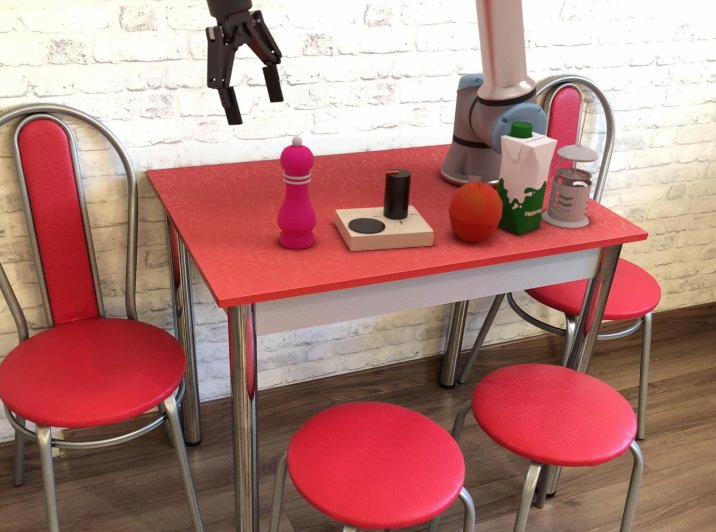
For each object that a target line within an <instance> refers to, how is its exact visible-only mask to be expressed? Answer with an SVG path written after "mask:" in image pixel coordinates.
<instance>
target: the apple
mask: <svg viewBox="0 0 716 532" xmlns="http://www.w3.org/2000/svg"><path fill="white" fill-rule="evenodd" d="M502 205H503V203H502V200H501V198H500V196H499V195H498V193H497V189H495V188H492V187H491V186H490V185H488V184H486V183H482V182H480V181H479V182H470V183H467V184H466V185H464V186H459V188H458V189H457V190H456V192H455V193H454V194H453V195H452V196H451V199H450V202H449V206H448V215H449V216H448V217H449V220H450V221H449V222H450V227H451V230H452V232H453V233H455V234H456V236H458V237H459V239H461V241H464V242H467V243H477V242H481V241H482V240H485V239H487V238H488V237H491V236H493V235H494V234H495V233H496V231H497V229H498V228H499V227H498V224H499V222H500V219H501V217H502Z"/></svg>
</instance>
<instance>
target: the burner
mask: <svg viewBox="0 0 716 532" xmlns="http://www.w3.org/2000/svg"><path fill="white" fill-rule="evenodd" d="M348 227H349V229H351V230H352V231H354V232H357V233H362V234H376V233H380V232H382V231H384V230H385V224H384V223H383V222H382V221H380V220H377V219H372V218H357V219H354V220H351V221H350V222H349V223H348Z"/></svg>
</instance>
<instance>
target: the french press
mask: <svg viewBox="0 0 716 532" xmlns="http://www.w3.org/2000/svg"><path fill="white" fill-rule="evenodd" d="M582 103H585V104H586V107H585V110H584V111H585V112H584V116H583V122H582V127H581V132H580V138H579V142H578V144H569V145H565V146H563V147H560V148H558V149H557V151H556V153H557V155H555V156H553V157H552V160H551V163H550V168H549V173H548V177H549V182H550V185H551V189H550V194H549V199H548V204H547V209H546V210H545V211H543V212H542V215H541V219H542V220H543V221H544V222H546V223H548V224H550V225H553V226H557V227H560V228H568V229H577V228H578V229H579V228H583V227H586V226H587V225H588V224H589V223H590V221H589V218H588V217H587V215H586V214H587V209H588V206H589V201H590V195H591V191H592V186H593V182H592V180H591V179H592V178H593V174H592V173H591V172H589V171H588V170H585V169H582V168H578V167H577V163H593V162H596V161H597V160H598V159H599V157H600V156H599V154H598V153H597V152H596V151H595V150H594V149H593V148H591V147H588V146H587V145H581V144H582V143H581V142H582V138H583V134H584V133H583V132H584V129H585V128H584V127H585V123H586V117H587V111H588V107H589V104H593V103H594V97H593V96H591V95H586V96H584V97H583V99H582ZM557 157H559V159H558V161H557V164H556V168H555V176H552V177H551V175H552V174H551V173H552V172H551V171H552V165H553V163H554V161H555V159H556V158H557ZM562 159H564V160H562ZM567 161H571V162H573V163H574V162H575V163H574V167H572V166H571V167H567V166H565V167H559V163H560V162H562V163H564V162H567ZM560 178H561V182H560V181H559V180H560ZM578 182H579V183H584V184H585V185H587V186H585V185H584V184H578ZM574 183H577V184H574ZM556 198H557V199H556ZM555 204H556V205H555Z"/></svg>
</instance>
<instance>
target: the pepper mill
mask: <svg viewBox="0 0 716 532" xmlns="http://www.w3.org/2000/svg"><path fill="white" fill-rule="evenodd" d="M314 163H315V158H314V153H313V151H312V150H311V149H310V148H309V147H308V146H306V145H304V144H303V139H302V138H301V136H294V137H293V138H292V139H291V144H290V145H287V146H285V148H283V150H282V151H281V153H280V157H279V164H280V166H281V168H282V169H283V171H282V176H283V177H282V181H283V182H284V183H285V195H284V198H283V201H282V203H281V205H280V207H279V209H278V213H277V218H276V224H277V227H278V228H279V229H280V230H281V231H280V232H279V243H280V245H281V246H283V248H287V249H292V250H302V249H307V248H310V247H311V246H312V245H313V244H314V233H313V230H314V229H315V228H316V226H317V215H316V211H315V209H314V207H313V204H312V202H311V199H310V194H309V183H310V182H311V181H312V178H311V175H312V172H311V170H312V169H313V167H314Z"/></svg>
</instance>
